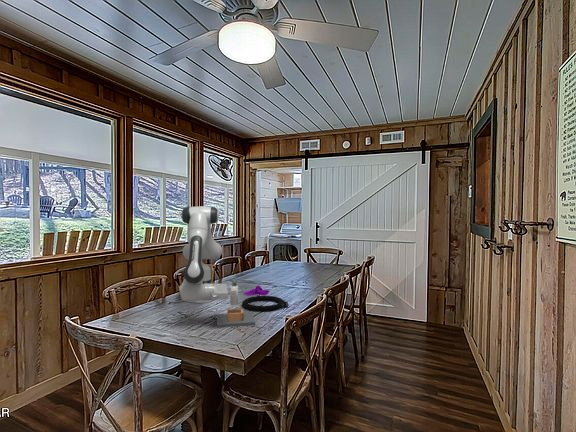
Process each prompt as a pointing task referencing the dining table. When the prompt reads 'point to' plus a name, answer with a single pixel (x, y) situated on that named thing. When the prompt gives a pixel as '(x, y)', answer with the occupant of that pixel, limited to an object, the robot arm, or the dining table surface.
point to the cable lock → (255, 308)
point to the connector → (234, 296)
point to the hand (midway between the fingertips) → (235, 290)
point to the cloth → (256, 291)
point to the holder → (235, 318)
